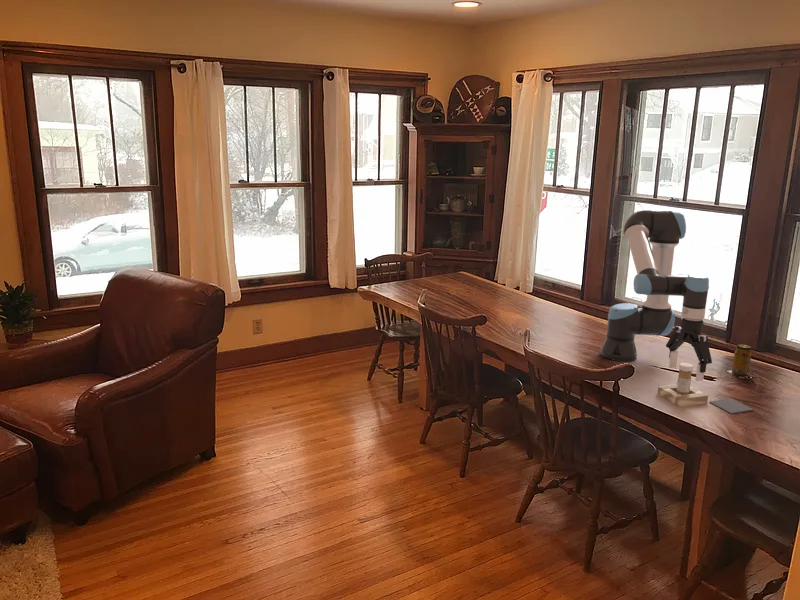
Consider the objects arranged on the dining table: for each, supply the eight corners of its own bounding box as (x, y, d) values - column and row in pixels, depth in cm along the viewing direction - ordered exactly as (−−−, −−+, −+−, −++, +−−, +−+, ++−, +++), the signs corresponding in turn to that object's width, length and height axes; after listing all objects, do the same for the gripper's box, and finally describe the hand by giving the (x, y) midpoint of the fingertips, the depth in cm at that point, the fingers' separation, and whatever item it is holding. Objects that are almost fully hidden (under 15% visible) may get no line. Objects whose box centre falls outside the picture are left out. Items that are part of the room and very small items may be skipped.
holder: (657, 393, 234) (658, 386, 233) (683, 390, 237) (684, 383, 237) (680, 406, 223) (681, 399, 222) (707, 402, 226) (708, 395, 226)
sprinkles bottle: (678, 394, 233) (682, 361, 230) (690, 398, 230) (695, 364, 227) (673, 398, 230) (677, 364, 227) (685, 402, 227) (690, 367, 224)
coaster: (709, 402, 227) (709, 401, 227) (731, 399, 230) (731, 398, 229) (730, 413, 217) (731, 412, 217) (753, 410, 220) (753, 409, 220)
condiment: (741, 370, 259) (745, 342, 256) (756, 377, 251) (760, 349, 248) (726, 371, 257) (730, 343, 254) (740, 378, 249) (745, 350, 246)
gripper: (660, 310, 233) (653, 363, 238) (710, 328, 210) (702, 387, 215) (676, 308, 235) (670, 361, 240) (728, 326, 212) (720, 384, 217)
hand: (685, 373), depth 227 cm, fingers open, 13 cm apart
